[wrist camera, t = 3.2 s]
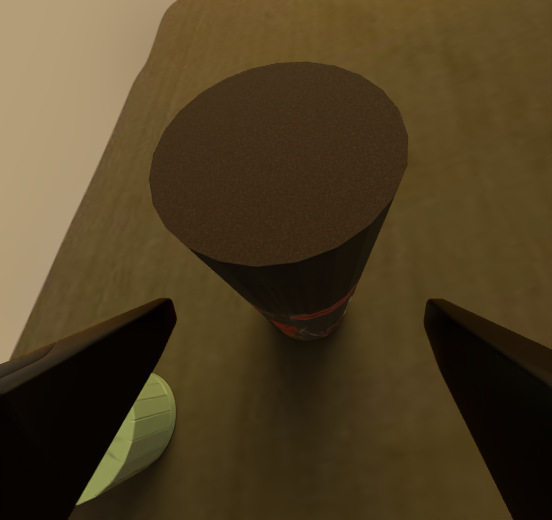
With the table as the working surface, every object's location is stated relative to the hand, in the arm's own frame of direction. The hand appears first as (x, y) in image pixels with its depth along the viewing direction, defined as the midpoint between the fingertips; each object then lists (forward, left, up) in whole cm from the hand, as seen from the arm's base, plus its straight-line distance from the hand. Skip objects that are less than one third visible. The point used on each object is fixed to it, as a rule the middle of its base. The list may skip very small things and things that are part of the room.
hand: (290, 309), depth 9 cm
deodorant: (+3, 0, -10) cm, 11 cm away
